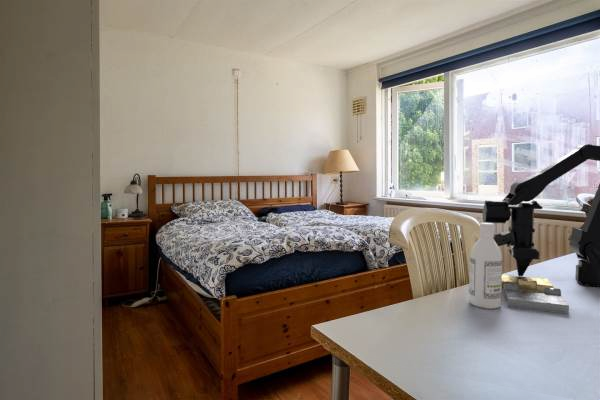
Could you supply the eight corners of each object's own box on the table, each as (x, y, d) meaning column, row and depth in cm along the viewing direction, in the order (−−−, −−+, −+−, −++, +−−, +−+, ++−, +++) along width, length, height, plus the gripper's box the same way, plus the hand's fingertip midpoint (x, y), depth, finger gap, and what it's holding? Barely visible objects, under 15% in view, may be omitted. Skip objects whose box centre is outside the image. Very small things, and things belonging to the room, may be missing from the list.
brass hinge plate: (547, 285, 103) (547, 274, 103) (555, 296, 94) (555, 283, 94) (498, 281, 108) (499, 270, 107) (502, 290, 99) (502, 279, 99)
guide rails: (550, 286, 102) (550, 283, 102) (561, 299, 91) (561, 296, 91) (495, 280, 107) (495, 278, 107) (499, 293, 97) (500, 290, 97)
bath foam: (505, 304, 89) (508, 223, 87) (493, 312, 85) (495, 226, 83) (477, 297, 94) (478, 220, 93) (464, 303, 90) (465, 223, 88)
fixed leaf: (558, 300, 91) (558, 287, 91) (568, 313, 83) (569, 300, 82) (503, 294, 96) (504, 282, 96) (508, 306, 87) (508, 293, 87)
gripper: (489, 218, 119) (487, 265, 120) (493, 227, 102) (492, 281, 103) (528, 220, 115) (527, 268, 116) (540, 229, 98) (538, 286, 99)
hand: (520, 275), depth 109 cm, fingers closed
